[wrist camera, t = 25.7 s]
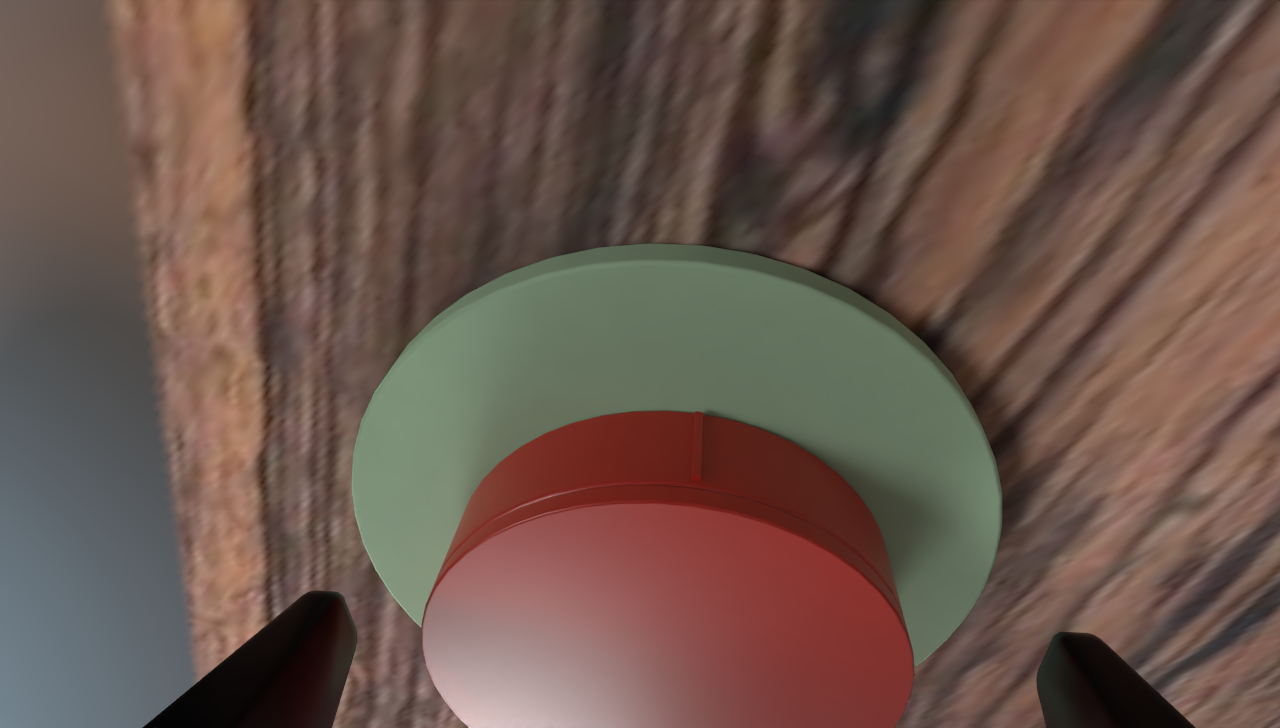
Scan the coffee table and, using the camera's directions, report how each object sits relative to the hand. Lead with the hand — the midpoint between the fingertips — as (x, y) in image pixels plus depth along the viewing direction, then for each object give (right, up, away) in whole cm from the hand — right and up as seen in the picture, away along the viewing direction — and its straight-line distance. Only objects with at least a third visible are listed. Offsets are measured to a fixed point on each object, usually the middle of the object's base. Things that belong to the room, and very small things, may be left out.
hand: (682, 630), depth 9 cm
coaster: (0, +1, +3) cm, 3 cm away
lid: (0, -1, +1) cm, 2 cm away
